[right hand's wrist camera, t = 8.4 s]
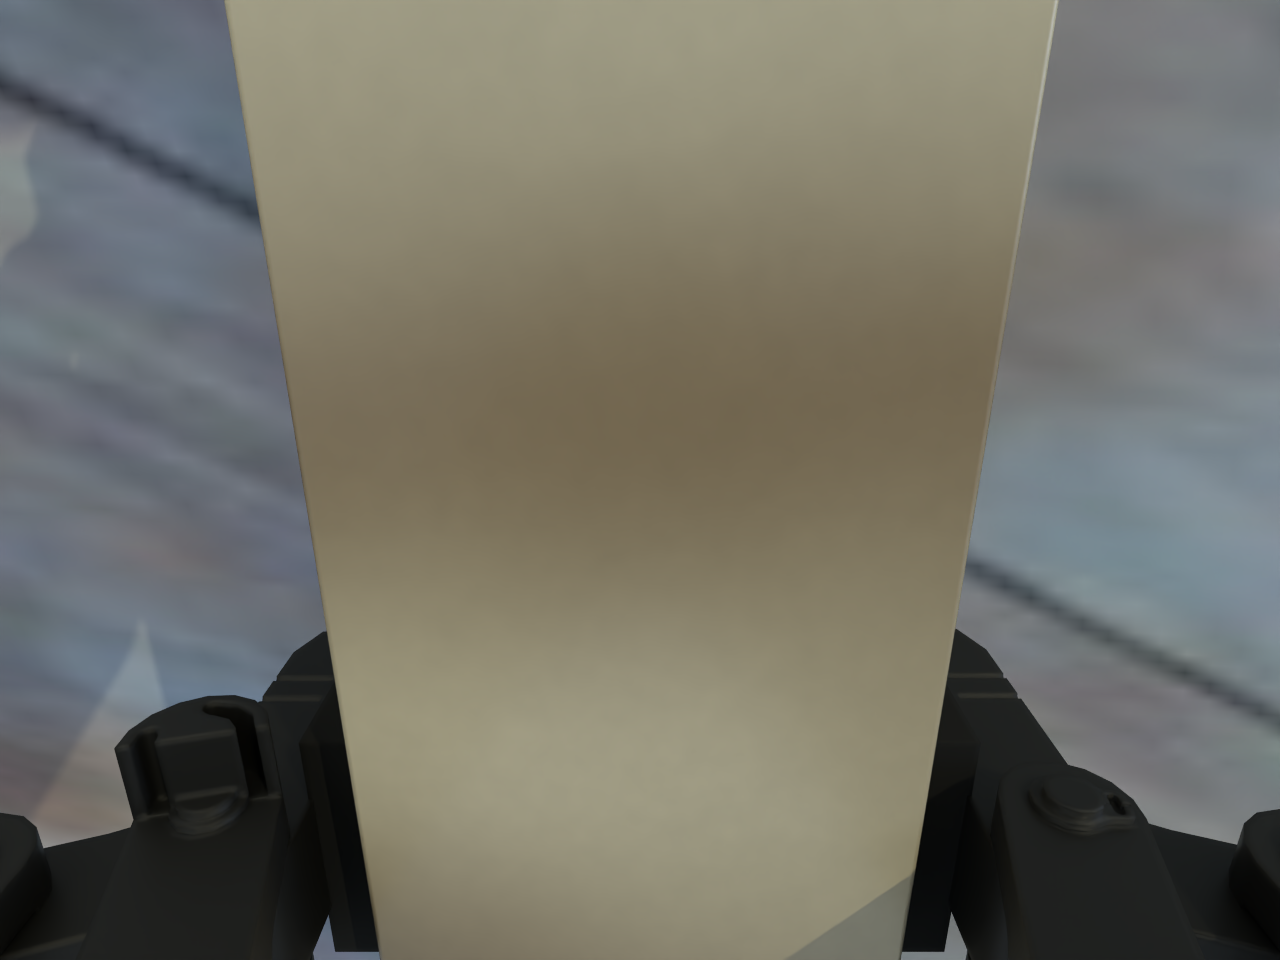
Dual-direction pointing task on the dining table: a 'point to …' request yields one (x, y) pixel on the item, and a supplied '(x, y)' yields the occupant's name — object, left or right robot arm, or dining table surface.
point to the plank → (640, 442)
